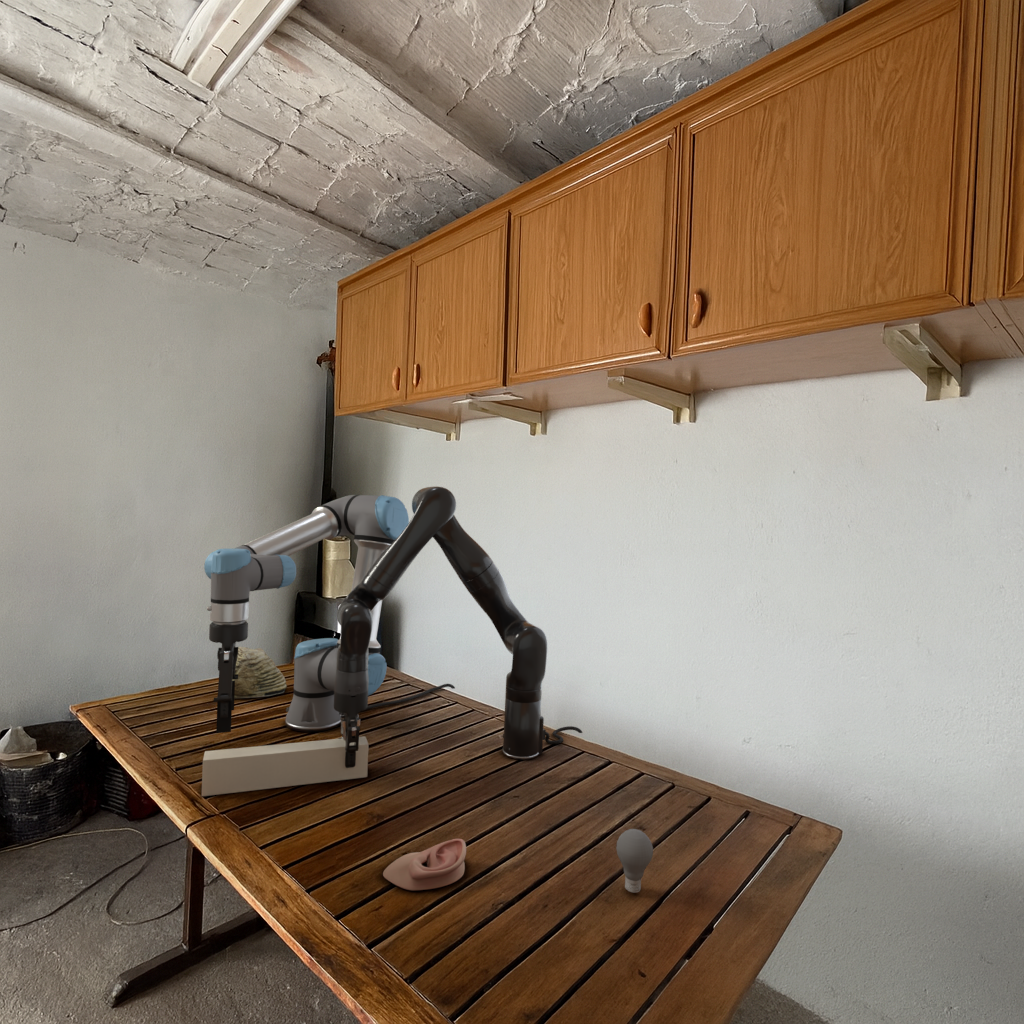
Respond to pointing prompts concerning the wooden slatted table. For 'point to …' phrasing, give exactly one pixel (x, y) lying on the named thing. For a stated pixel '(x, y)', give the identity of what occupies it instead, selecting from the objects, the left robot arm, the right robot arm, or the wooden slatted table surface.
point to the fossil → (257, 674)
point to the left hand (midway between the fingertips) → (225, 720)
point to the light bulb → (634, 857)
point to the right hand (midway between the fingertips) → (348, 761)
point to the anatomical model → (429, 867)
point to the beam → (280, 766)
